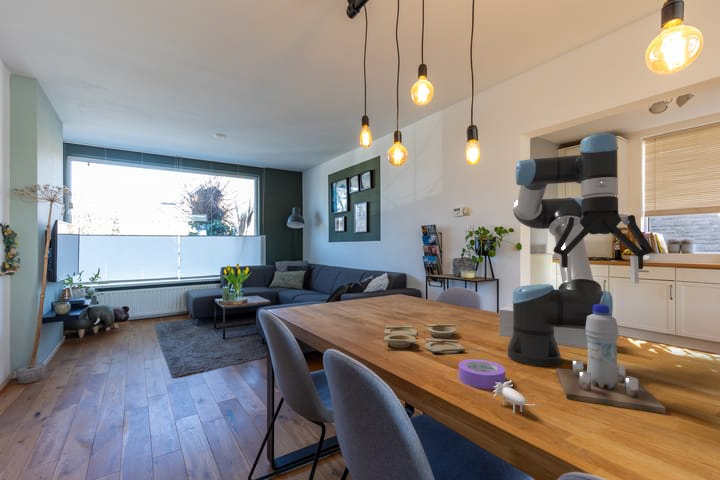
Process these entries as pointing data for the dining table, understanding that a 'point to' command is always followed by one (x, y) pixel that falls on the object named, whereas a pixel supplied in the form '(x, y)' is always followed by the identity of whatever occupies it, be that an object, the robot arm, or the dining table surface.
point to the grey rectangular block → (561, 334)
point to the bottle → (602, 347)
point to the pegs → (630, 382)
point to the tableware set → (404, 338)
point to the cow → (510, 395)
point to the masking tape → (481, 373)
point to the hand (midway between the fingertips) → (600, 282)
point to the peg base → (608, 394)
